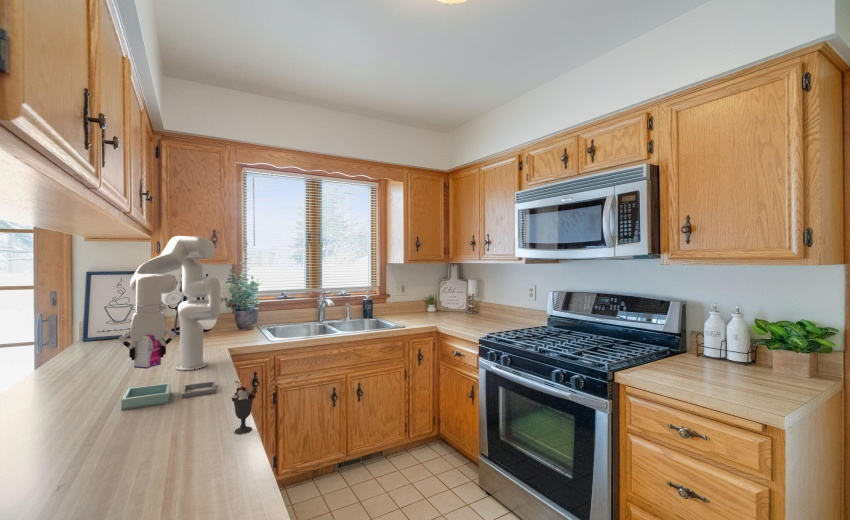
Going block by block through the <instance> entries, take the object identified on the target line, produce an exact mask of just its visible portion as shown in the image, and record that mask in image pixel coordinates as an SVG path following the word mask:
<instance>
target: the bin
mask: <svg viewBox="0 0 850 520" xmlns="http://www.w3.org/2000/svg"><path fill="white" fill-rule="evenodd" d="M171 385H172V384H171V382H168V383H160V384H152V385H150V384H149V385H143V386H136V387H129V388H127V389H126V391H125V392H124V394H123V396H122V398H121V407H120V408H121V409H120V410H121V411H127V410H133V408H134V409H140V408H139V407H141V408H145V407H146V406H148V407H153V405H154V406H161V405H167V403H168V404H169V401H170V397H171V392H172V391H171V390H172V389H171V388H172V386H171Z"/></svg>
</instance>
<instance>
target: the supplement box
mask: <svg viewBox="0 0 850 520" xmlns="http://www.w3.org/2000/svg"><path fill="white" fill-rule="evenodd" d="M161 346H162V344H161V343H160V342H159V340H158V341H156V340H155V337H154V335H151V336H142V338H141V341H140V342H137V343H136V344H135V345H134V347H135V356H134V360H133V363H134V364H133V368H134V369H144V370H145V369H146V370H147V369H149V368H153V367H157V366H160V365H161V362H162V358H161Z"/></svg>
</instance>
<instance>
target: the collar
mask: <svg viewBox="0 0 850 520" xmlns="http://www.w3.org/2000/svg"><path fill="white" fill-rule="evenodd" d="M208 386H209V387H211V388H209V389H201V390H195V391H187V390H192V389H199V388H200V387H201V388H207V387H208ZM216 390H217V388H216V382H215V381H207V382H200V383H193V384H191V383H190V384H184V385H182V390H181V399H184V398H190V397H191V398H192V397H199V396H205V395H212V394H217V391H216ZM186 391H187V392H186ZM198 395H199V396H198Z"/></svg>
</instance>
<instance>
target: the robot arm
mask: <svg viewBox="0 0 850 520" xmlns="http://www.w3.org/2000/svg"><path fill="white" fill-rule="evenodd" d="M215 246H216V245H215V244H214V243H213V241H212V240H210V239H208V238H206V237H204V236H199V235H176V236H173V237H171V238H170V240H169V241H168V242H167V244H166V246H165V248H164V249H163V250H162V252H161V253H160V255H158V256H155V257H154V258H152V259H149V260H147V261H145V262H144V263H142V264H140V265H139V266H138V268H137V269H136V270H135V272H134V274H133V275H132V277H131V279H130V284H129V286H130V290H132V292H134V293H135V312H134V313H133V314H132V317H131V323H130V330H129V331H127V332H125V333H124V334H123V335H121V336H120V337H118V340H119V341H120V343H121V344H123V346H124V347H126V348H127V349H128V350H129V353H128V354H129V358H130V359H131V361H134V356H135V344H136V343H137V342H140V341H141V338H142V336H151V335H154V337H155V340H156V341H158V340H159V342H160V343H161V359H162V358H164V356H165V355H167V345H168V344H170V342H172V340H173V339H174V338H175V336H176V335H177V333H176V332H175V331H172V330H170V329H169V328H167V326H166V316H165V312H164V311H163V310H167V305H164V304H162V295H163V294H166V295H167V294H171V293H172V292H174V291H175V290H176V289H177V285H178V281H177V279H176V277H175V276H174V275H173V274H169V273H170V272H173V271H177V270H179V269H180V268H181V292H182V294H183V296H184V297H186V298H208V299H190V300H185V301H181V302H180V303H179V304H178V307H177V315H178V323H179V363H178V364H177V365H175V370H176V371H185V370H186V371H193V370H194V369H195V370H199V368H200V369H203V368H205V367H207V365H208V364H207V363H208V362H206V361H204V329H203V328H204V327H203V325H202V324H201V323H200V321H214V320H217V319H218V318H220V315H221V283H220V281H219V279H218V278H217V277H214V276H205V277H204V267H203V264H202V263H201V261H200V260H210V259H213V257H214V256H215V255H216V247H215ZM167 334H168V335H169V337H168V338H167V339H165V337H166V335H167ZM128 337H130V338H129V339H130V341H131V342H129V341H128V340H127V339H126V338H128ZM202 367H203V368H202ZM195 370H194V371H195ZM186 371H185V372H186Z"/></svg>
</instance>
